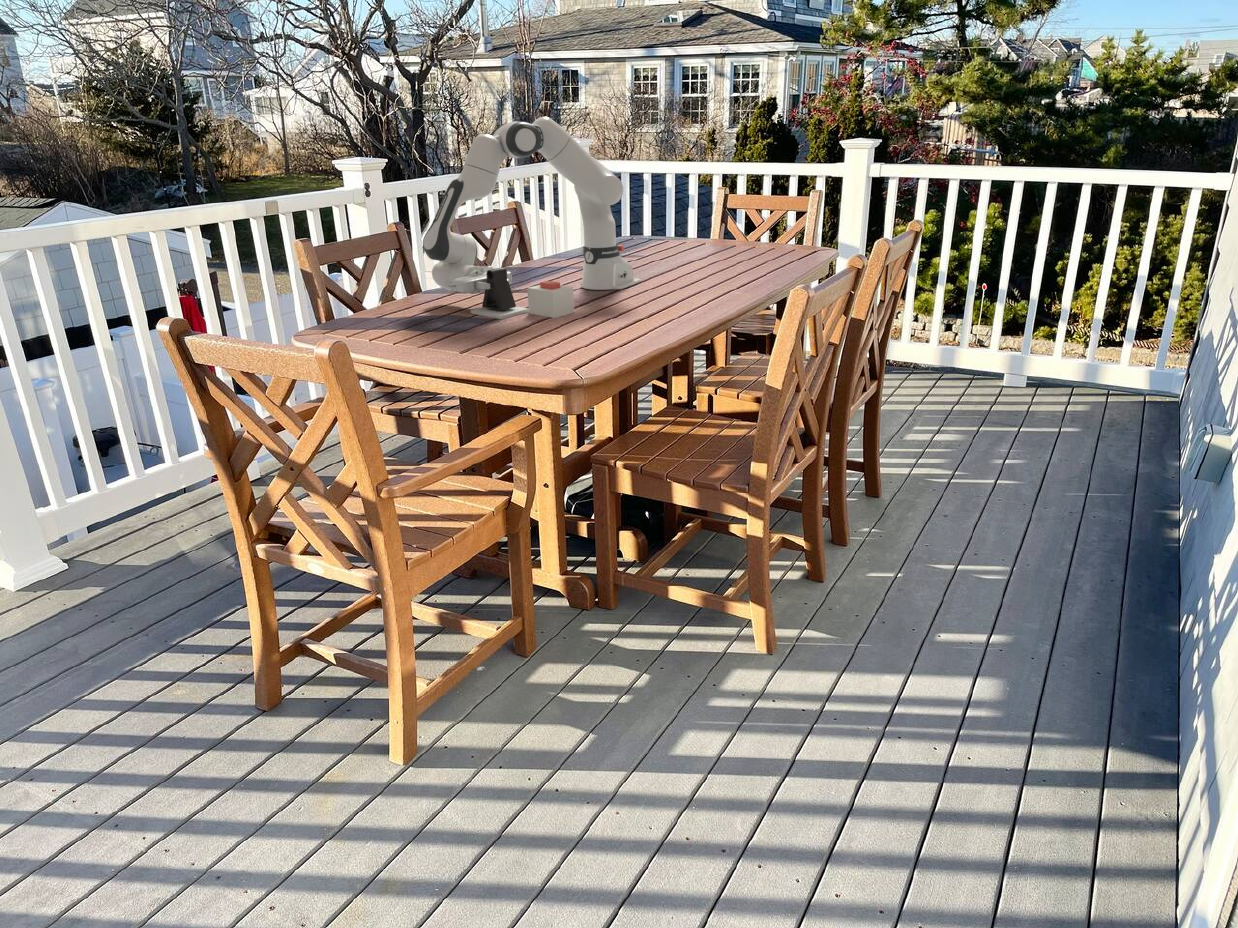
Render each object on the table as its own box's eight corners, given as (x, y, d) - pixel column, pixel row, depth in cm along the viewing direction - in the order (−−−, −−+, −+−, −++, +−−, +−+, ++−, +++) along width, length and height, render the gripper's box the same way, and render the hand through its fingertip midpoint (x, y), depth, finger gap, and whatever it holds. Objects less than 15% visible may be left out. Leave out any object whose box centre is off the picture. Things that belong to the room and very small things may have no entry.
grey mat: (499, 306, 291) (499, 303, 291) (529, 311, 283) (528, 308, 282) (470, 313, 283) (470, 310, 283) (500, 319, 275) (500, 315, 274)
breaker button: (548, 290, 281) (548, 280, 280) (560, 292, 278) (559, 282, 277) (540, 292, 278) (540, 282, 277) (552, 294, 275) (551, 284, 274)
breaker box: (549, 308, 287) (548, 283, 284) (574, 312, 280) (573, 287, 277) (529, 313, 281) (527, 287, 278) (553, 318, 274) (552, 292, 271)
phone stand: (482, 307, 283) (479, 269, 278) (495, 303, 287) (493, 266, 283) (502, 310, 278) (499, 271, 273) (516, 307, 282) (513, 268, 277)
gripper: (444, 274, 279) (473, 279, 271) (493, 264, 293) (522, 269, 285) (445, 295, 282) (474, 300, 273) (494, 284, 296) (523, 289, 287)
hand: (499, 284), depth 279 cm, fingers closed on phone stand, 6 cm apart
